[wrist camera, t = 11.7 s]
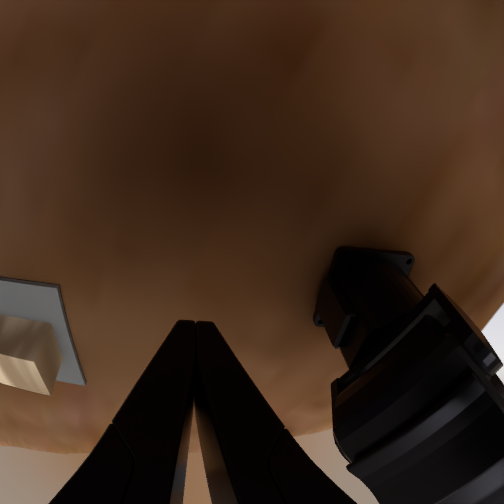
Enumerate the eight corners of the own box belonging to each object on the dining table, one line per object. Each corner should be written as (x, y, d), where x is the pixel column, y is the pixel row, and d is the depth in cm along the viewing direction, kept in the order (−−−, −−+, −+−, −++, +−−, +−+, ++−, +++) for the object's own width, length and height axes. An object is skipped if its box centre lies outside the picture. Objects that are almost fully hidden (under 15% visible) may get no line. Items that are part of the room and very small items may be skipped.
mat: (58, 284, 19) (56, 288, 18) (86, 382, 24) (85, 385, 23) (-38, 270, 17) (-40, 273, 16) (1, 363, 22) (0, 366, 22)
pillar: (33, 362, 16) (-44, 340, 15) (50, 395, 18) (-25, 374, 17) (51, 323, 20) (-23, 309, 18) (63, 358, 22) (-9, 343, 20)
